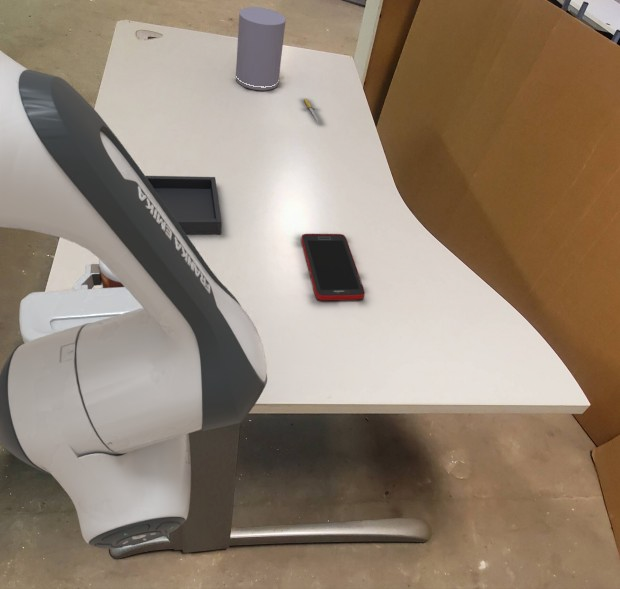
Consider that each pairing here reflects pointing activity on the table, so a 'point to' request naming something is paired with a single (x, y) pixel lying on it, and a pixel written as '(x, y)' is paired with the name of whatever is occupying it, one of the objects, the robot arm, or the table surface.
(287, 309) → the table surface
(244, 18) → the container
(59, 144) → the robot arm
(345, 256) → the cell phone
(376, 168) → the table surface
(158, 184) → the dark shallow tray
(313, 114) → the dagger
